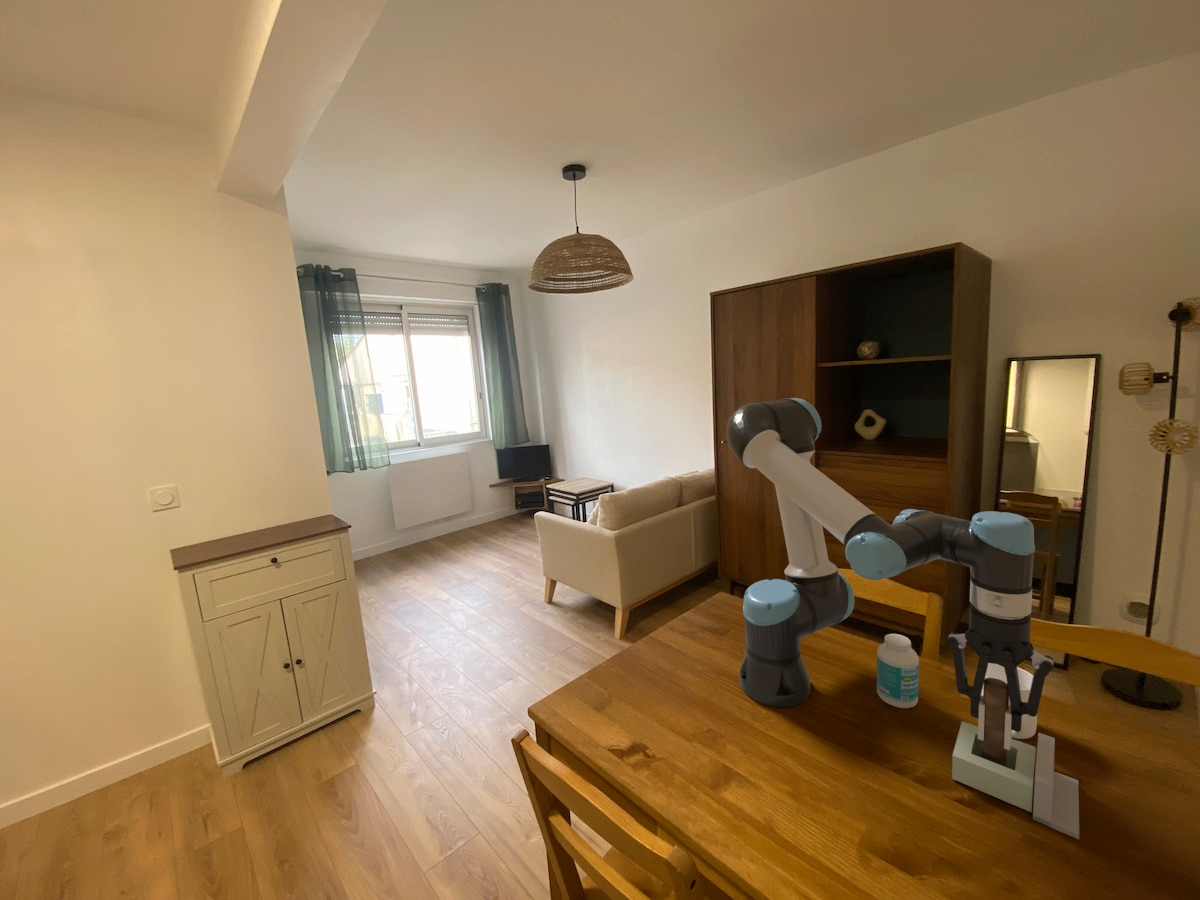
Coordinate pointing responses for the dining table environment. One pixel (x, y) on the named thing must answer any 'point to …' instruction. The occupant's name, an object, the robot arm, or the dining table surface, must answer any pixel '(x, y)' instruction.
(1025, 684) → the mug
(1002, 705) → the dowel
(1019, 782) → the block
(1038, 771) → the grey l-shaped piece
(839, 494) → the robot arm
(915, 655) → the pill bottle
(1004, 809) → the dining table surface
